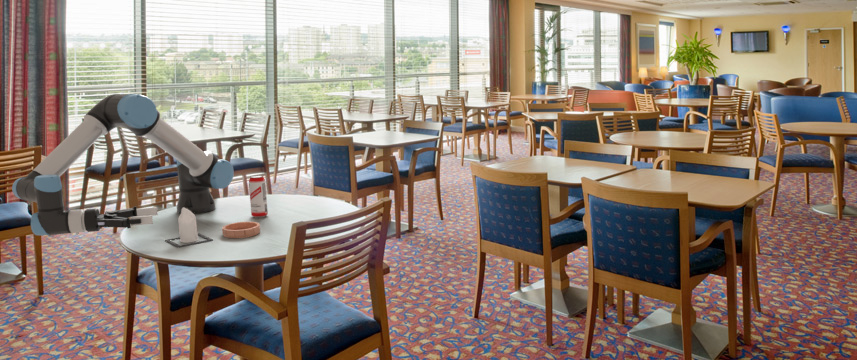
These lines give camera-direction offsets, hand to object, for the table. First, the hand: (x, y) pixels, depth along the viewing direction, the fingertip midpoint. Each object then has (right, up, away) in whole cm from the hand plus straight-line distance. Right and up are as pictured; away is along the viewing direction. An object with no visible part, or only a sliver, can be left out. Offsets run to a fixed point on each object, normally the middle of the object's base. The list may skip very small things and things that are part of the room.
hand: (154, 215), depth 225 cm
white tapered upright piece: (+10, -9, +5) cm, 14 cm away
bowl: (+26, -7, +12) cm, 29 cm away
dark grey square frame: (+10, -9, +5) cm, 14 cm away
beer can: (+26, -3, +38) cm, 46 cm away
